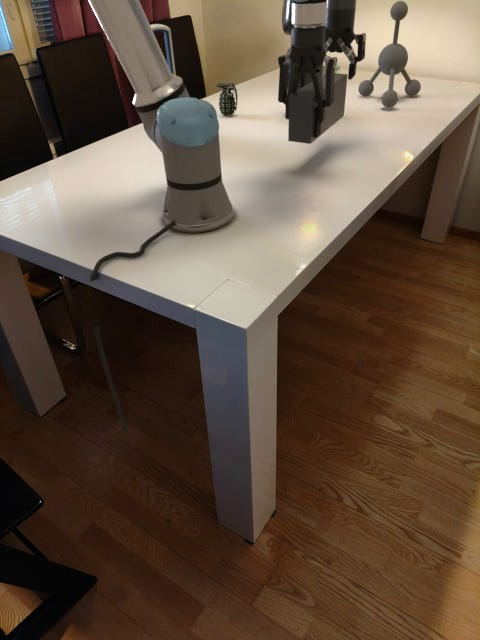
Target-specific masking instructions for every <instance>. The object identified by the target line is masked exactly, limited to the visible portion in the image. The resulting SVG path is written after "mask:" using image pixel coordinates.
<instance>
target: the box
mask: <svg viewBox="0 0 480 640" xmlns="http://www.w3.org/2000/svg"><path fill="white" fill-rule="evenodd" d="M321 79H322V84H323V89H324V93H325V98H326V73H325V74H324V75H322V76H321ZM347 83H348V73H337V72H336V73H335V79H334V103H333V104H332V105H331V106H329V107H326V111H325V120H324V122H322V123H321V133H320V135H319V136H318V137H317V138H315V137H314V117H315V109H316V108H317V107H318V104H317V99H316V95H315V90H314V86H313V81H312V82H310V83H309V84H307V85H306V86H304V87H302V88H301V89H299V90H297V91H296V92H294V93H292V94H291V95H289V119H288V134H287V135H288V139H287V140H288V142H293V143H301V144H308V145H311V144H312V143H313V142H315V141H316V140H317V139H318V138H319V137H321V136H322V135H323V134H324V133H326V132H327V131H328V130H329V129H330V128H331V127H332V126H334V125H335V124H336V123H338V121H340V120H341V119H342V118H344V116H345V108H346V97H347V85H348V84H347Z"/></svg>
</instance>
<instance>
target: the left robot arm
mask: <svg viewBox="0 0 480 640" xmlns="http://www.w3.org/2000/svg"><path fill="white" fill-rule="evenodd" d="M87 1H88V2H89V5H90V6H91V8H92V11H93V12H94V15H95V16H96V18H97V20H98V22H99V24H100V26H101V29H102V30H103V32H104V34H105V36H106V38H107V40H108V42H109V44H110V46H111V48H112V50H113V51H114V53H115V56H116V57H117V60H118V61H119V63H120V65H121V68H122V70H123V71H124V73H125V75H126V77H127V79H128V81H129V83H130V85H131V87H132V89H133V91H134V96H133V99H132V104H133V107H134V108H135V111H136V112H137V115H138V116H139V118H140V120H141V121H142V122H141V123H142V125H143V129H144V132H145V133H146V135H147V137H148V138H149V139H150V140H151V141H152V142H153V143H154V145H155V147H157V149H158V150H159V151H160V152H161V154H162V159H163V168H164V173H165V180H166V190H165V191H166V192H165V196H164V203H163V207H162V218H163V222H164V224H165V226H164V227H162V229H159V231H157V232H156V233H155V234H153V235H152V236H151V237H149V238H148V239H147V240H146V241H144V242H143V243H142V244H141V245H140V248H139V250H138V251H135V252H127V251H115V252H111V253H109V254H106V255H104V256H102V257H101V258H99V259H98V260H97V261H96V263H95V265H94V267H93V269H92V272H91V275H90V278H89V281H90V282H94V281H95V280H96V278H97V276H98V274H99V271H100V269H101V266H102V265H103V264H104V263H105V262H107V261H109V260H112V259H115V258H117V257H118V258H138V257H140V256H143V254H144V253H145V250H146V248H147V247H148V246H150V245H151V244H152V243H153V242H154V241H156V240H157V239H158V238H160V237H161V236H162V235H164V234H165V233H167V232H168V231H169V230H173V231H177V232H180V233H190V234H191V233H192V234H193V233H194V234H195V233H196V234H197V233H205V232H206V233H207V232H210V231H215V230H216V229H220V228H222V227H224V226H226V225H227V224H228V223H230V221H231V220H232V218H233V216H234V212H233V211H234V210H233V204H232V201H231V200H230V197H229V195H228V192H227V190H226V187H225V184H224V182H223V175H222V174H223V173H222V161H221V147H220V146H221V145H220V133H219V131H220V124H219V119H218V114H217V110H216V108H215V106H214V105H213V104H212V103H211V102H209V101H207V100H204V99H203V98H202V99H201V98H200V99H198V98H197V97H191V96H190V94H189V91H188V90H187V87H186V85H185V83H184V80H183V78H182V77H181V76H179V75H177V74H176V75H173V74H172V73H171V71H170V69H169V67H168V63H167V59H166V58H165V56H164V53H163V51H162V49H161V47H160V45H159V41H158V39H157V38H156V36H155V32H154V33H153V31H152V29H151V26H150V25H151V24H150V22H149V20H148V18H147V15H146V13H145V10H144V9H143V6H142V4H141V1H140V0H87ZM289 1H292V9H291V23H292V25H294V27H292V29H291V35H290V47H291V50H290V52H289V54H288V55H287V54H283V55H280V56H278V57H277V62H278V66H279V76H278V77H279V78H278V94H277V101H278V103H282V104H284V106H285V116H284V117H285V120H289V95H291V94H292V93H294V92H296V91H297V88H298V85H299V81H300V78H301V75H302V73H308V74H310V76H311V78H312V81H313V86H314V90H315V95H316V99H317V104H318V107H317V108H316V109H315V117H314V137H315V138H317V137H318V136H319V135H320V133H321V123H322V122H324V120H325V111H326V107H329V106H331V105H332V104H333V103H334V79H335V66H336V63H337V64H338V57H336V56H334V57H331V56H330V55H327V53H326V52H325V49H324V47H325V32H326V28H325V26H324V23H325V22H326V13H327V0H289ZM290 60H291V62H292V63H293V65H294V70H293V73H292V80H291V83H290V87H289V90H288V94H287V86H288V70H289V65H288V64H289V63H290ZM323 61H324V62H325V67H326V98H325V93H324V89H323V84H322V79H321V70H320V66H321V64H322V63H323ZM320 136H321V135H320ZM320 136H319V137H320ZM319 137H318V138H319ZM318 138H317V139H318ZM99 327H100V326H99V325H93V332H94V337H95V341H96V345H97V349H98V353H99V356H100V360H101V363H102V367H103V370H104V373H105V377H106V380H107V383H108V385H109V388H110V392H111V395H112V397H113V401H114V403H115V406H116V410H117V413H118V417H119V420H120V423H121V427H122V430H123V431H122V432H123V433H124V434H126V435H127V434H128V433H129V430H128V427H127V423H126V422H127V421H126V419H125V416H124V412H123V408H122V405H121V402H120V400H119V397H118V393H117V391H116V390H117V389H116V387H115V384H114V381H113V377H112V374H111V370H110V368H109V363H108V361H107V357H106V354H105V350H104V345H103V341H102V337H101V332H100V328H99Z"/></svg>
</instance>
